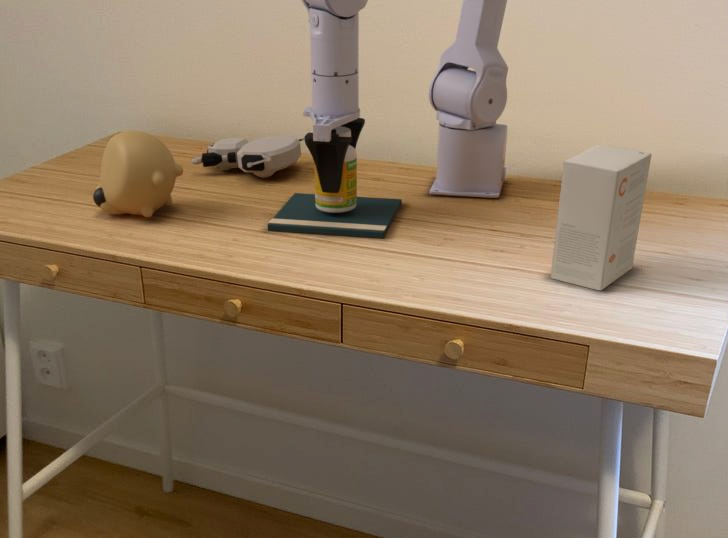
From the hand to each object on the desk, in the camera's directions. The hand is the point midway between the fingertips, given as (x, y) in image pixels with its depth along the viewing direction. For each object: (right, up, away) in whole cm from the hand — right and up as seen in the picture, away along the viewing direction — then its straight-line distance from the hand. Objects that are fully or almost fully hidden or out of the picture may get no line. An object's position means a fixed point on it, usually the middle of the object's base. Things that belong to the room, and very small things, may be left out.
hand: (336, 184), depth 119 cm
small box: (+28, -15, -15) cm, 35 cm away
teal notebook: (0, -4, +2) cm, 4 cm away
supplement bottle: (0, -3, +2) cm, 3 cm away
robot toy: (-12, +8, +21) cm, 26 cm away
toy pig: (-26, -2, +6) cm, 27 cm away
